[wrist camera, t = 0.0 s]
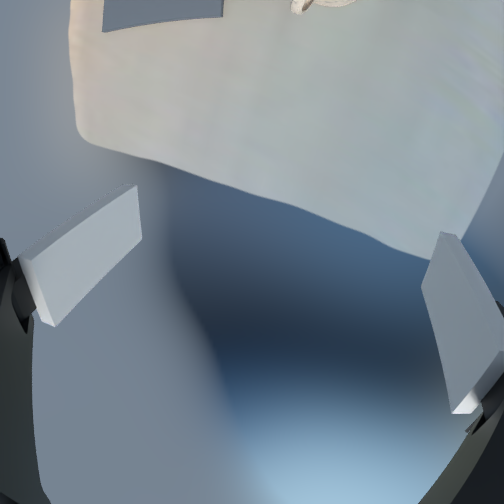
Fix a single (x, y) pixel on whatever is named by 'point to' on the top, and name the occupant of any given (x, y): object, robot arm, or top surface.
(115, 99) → the top surface
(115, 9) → the charcoal mat
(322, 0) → the teacup with lid
